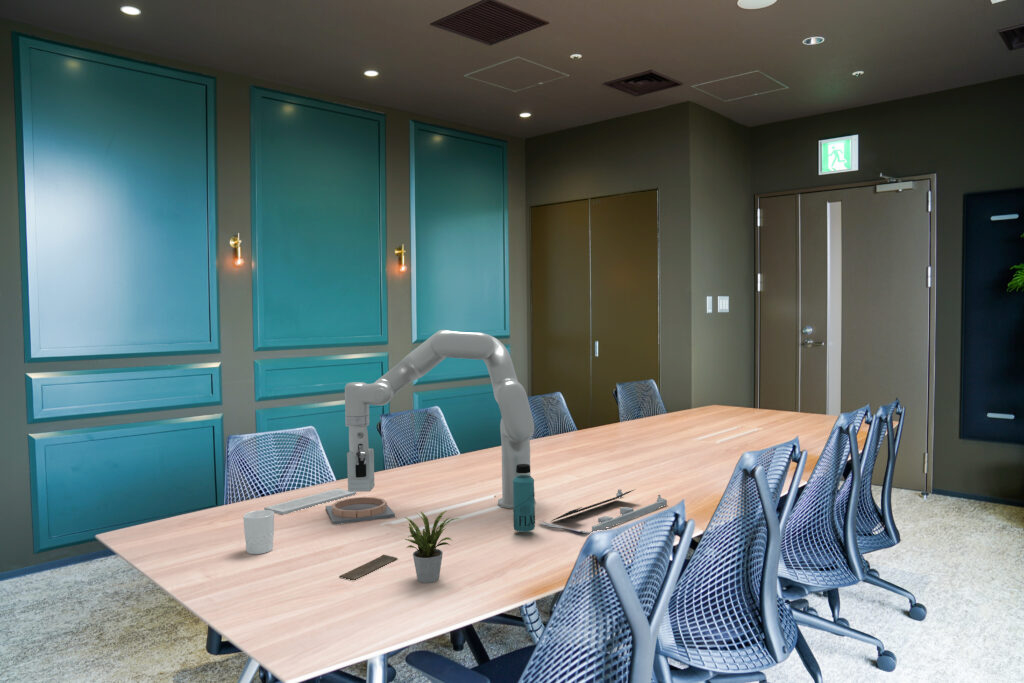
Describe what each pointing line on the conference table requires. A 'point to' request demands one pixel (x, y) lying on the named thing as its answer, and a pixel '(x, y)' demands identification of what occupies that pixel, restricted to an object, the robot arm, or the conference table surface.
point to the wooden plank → (369, 567)
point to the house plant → (427, 549)
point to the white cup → (259, 531)
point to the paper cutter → (610, 521)
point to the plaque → (309, 501)
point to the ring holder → (359, 510)
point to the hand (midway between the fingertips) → (358, 473)
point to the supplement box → (361, 482)
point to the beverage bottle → (523, 500)
